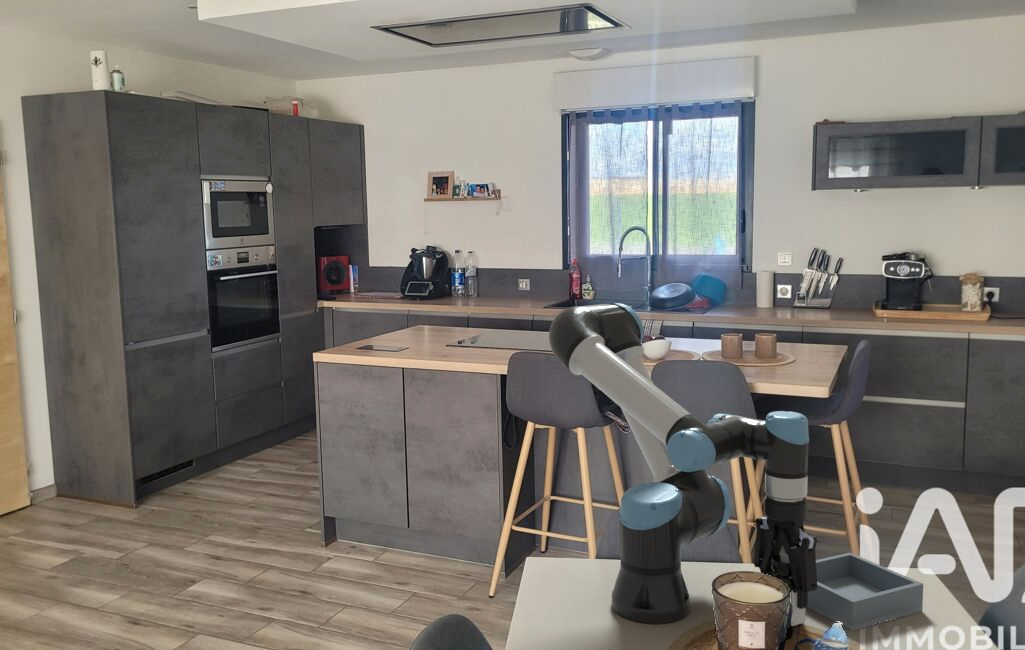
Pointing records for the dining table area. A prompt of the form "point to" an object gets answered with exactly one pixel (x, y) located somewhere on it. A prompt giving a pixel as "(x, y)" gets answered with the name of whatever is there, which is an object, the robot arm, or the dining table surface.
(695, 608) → the dining table surface
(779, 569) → the supplement bottle
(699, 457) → the robot arm
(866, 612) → the open box
